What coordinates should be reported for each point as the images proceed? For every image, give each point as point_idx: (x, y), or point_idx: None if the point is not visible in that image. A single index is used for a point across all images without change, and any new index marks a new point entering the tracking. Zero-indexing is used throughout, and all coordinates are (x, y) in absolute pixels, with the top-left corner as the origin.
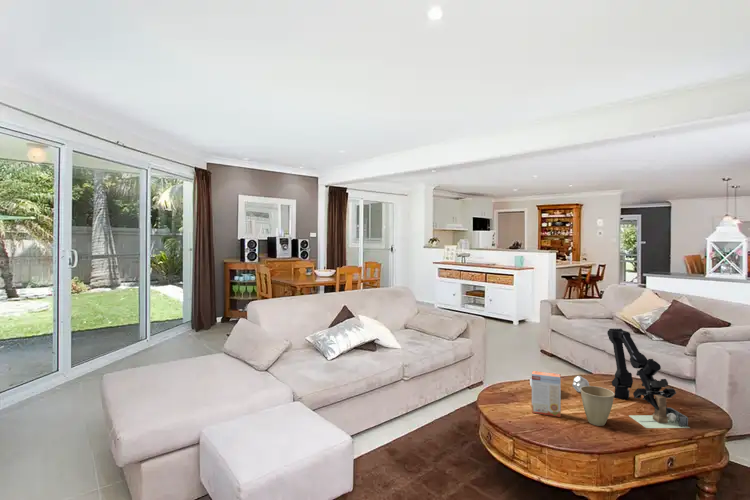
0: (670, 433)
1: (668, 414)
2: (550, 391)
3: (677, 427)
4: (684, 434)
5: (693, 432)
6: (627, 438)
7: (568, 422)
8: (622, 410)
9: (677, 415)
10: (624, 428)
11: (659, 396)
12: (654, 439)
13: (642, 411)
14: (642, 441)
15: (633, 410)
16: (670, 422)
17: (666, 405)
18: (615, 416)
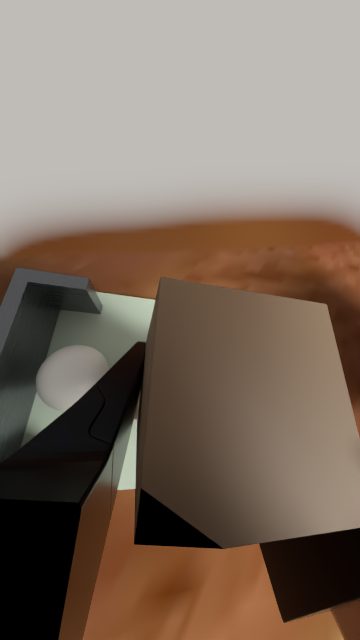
0: (192, 275)
1: (94, 382)
2: None
3: (124, 299)
4: (139, 257)
5: (75, 263)
6: (347, 274)
7: None
8: (279, 617)
9: (14, 374)
10: (338, 339)
11: (290, 391)
12: (275, 252)
13: (138, 618)
14: (314, 251)
15: (199, 635)
16: (109, 359)
17: (122, 357)
18: None
